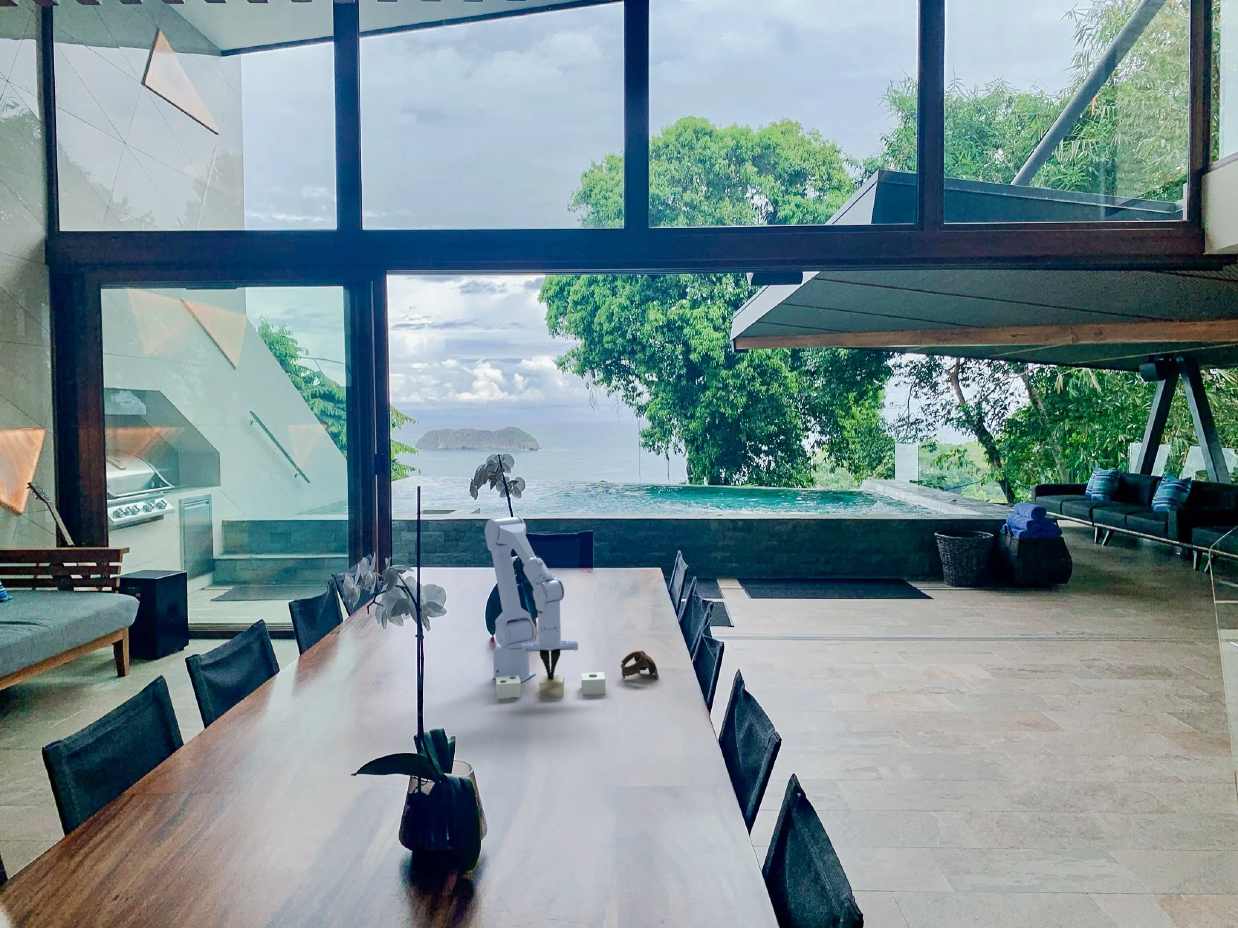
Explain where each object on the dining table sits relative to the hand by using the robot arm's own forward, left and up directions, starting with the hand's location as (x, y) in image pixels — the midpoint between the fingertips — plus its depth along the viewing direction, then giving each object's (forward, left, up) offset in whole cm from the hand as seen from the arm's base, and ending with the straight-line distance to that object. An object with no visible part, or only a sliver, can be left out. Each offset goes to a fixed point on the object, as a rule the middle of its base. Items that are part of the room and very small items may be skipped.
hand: (550, 678), depth 221 cm
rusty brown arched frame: (+17, +20, -4) cm, 27 cm away
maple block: (+1, 0, -4) cm, 4 cm away
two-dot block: (-10, -5, -4) cm, 12 cm away
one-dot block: (+10, +5, -4) cm, 12 cm away
